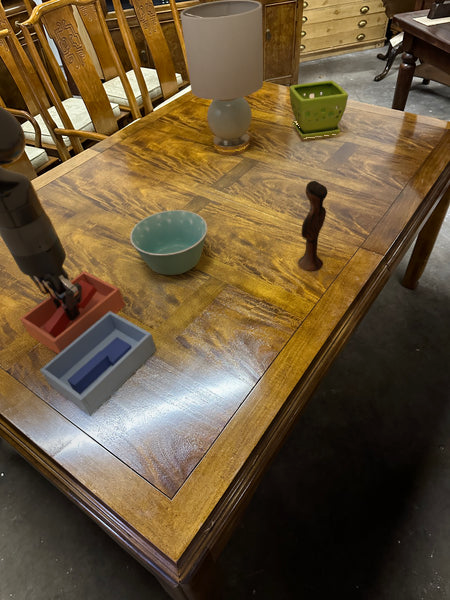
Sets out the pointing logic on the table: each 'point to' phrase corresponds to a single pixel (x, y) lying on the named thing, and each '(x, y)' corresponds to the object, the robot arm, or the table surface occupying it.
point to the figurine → (313, 226)
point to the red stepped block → (60, 317)
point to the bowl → (170, 240)
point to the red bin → (95, 310)
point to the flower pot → (318, 108)
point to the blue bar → (98, 364)
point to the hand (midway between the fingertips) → (70, 314)
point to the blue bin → (88, 348)
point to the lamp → (225, 65)
